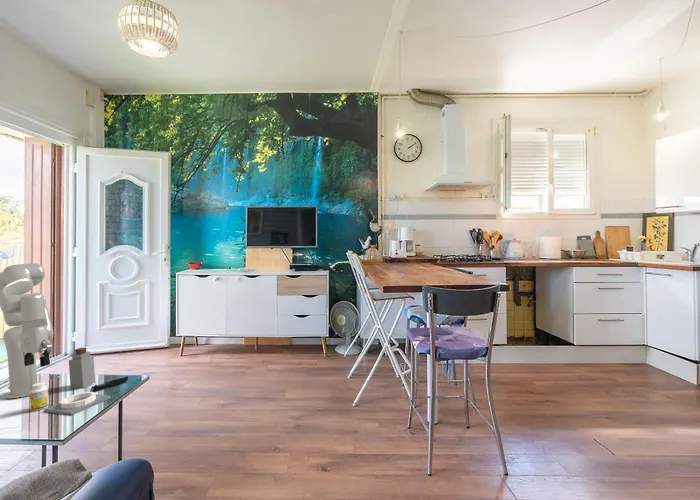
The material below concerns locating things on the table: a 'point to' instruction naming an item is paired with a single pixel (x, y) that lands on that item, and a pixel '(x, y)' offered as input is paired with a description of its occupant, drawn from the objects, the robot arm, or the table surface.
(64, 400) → the collar
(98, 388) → the electric trimmer
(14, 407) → the table surface
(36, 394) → the supplement bottle
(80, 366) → the perfume bottle
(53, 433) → the table surface
